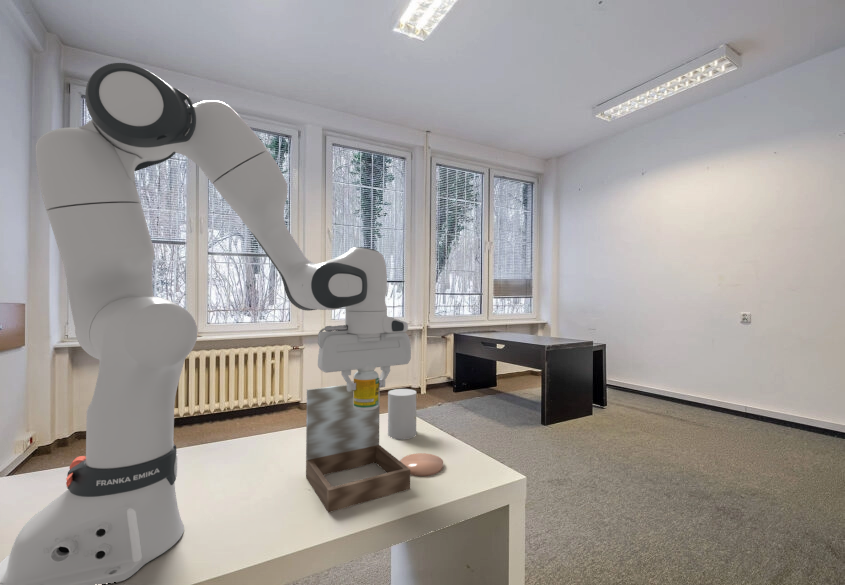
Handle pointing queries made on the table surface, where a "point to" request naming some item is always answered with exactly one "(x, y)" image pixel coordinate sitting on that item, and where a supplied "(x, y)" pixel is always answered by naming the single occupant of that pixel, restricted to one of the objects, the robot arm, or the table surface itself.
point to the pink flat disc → (423, 464)
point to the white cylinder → (402, 413)
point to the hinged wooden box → (347, 450)
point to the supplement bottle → (366, 388)
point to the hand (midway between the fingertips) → (366, 388)
